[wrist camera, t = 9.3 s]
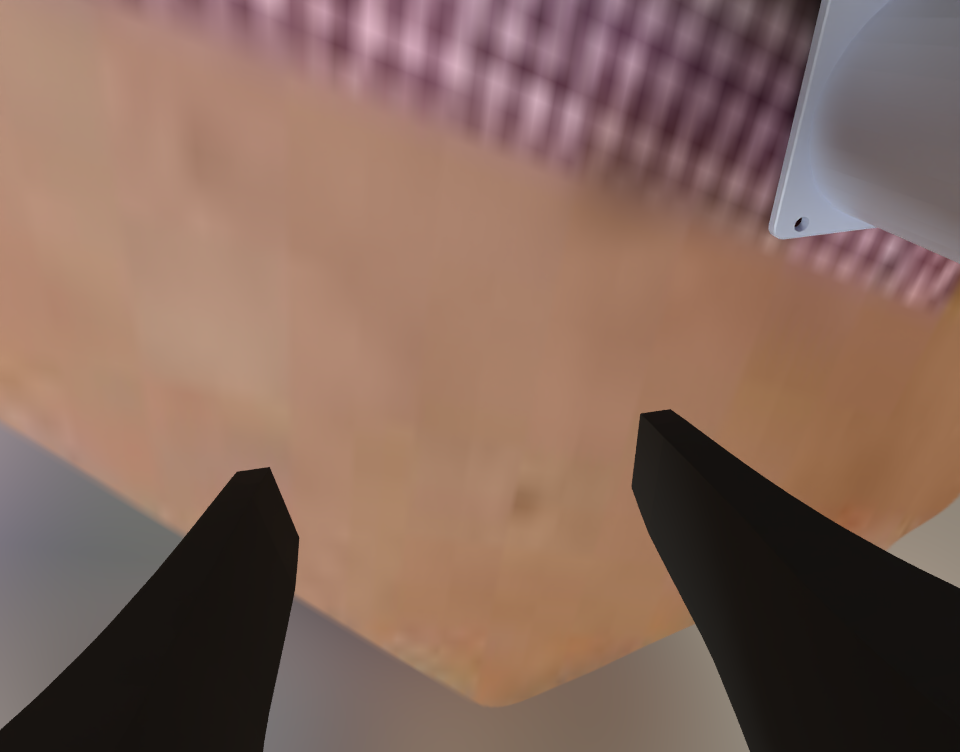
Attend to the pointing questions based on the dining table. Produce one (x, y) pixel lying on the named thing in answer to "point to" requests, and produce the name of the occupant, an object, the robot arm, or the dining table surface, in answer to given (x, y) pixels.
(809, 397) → the dining table surface
